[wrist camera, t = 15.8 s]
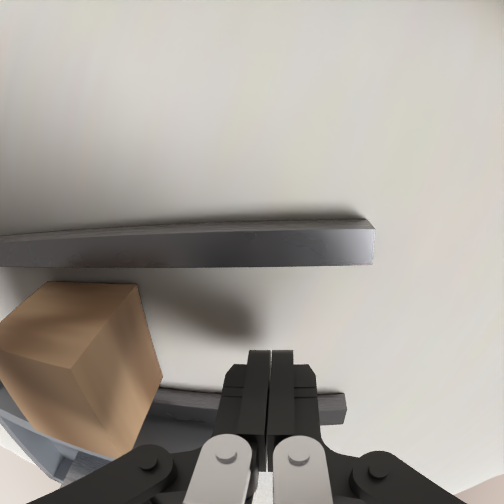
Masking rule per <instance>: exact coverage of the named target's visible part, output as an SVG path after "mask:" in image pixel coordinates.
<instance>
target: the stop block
mask: <svg viewBox="0 0 504 504" xmlns="http://www.w3.org/2000/svg"><path fill="white" fill-rule="evenodd" d="M110 462H112V461H110V460H106V459H103V458H100V457H97V456H94V455H90V454H87V453H85V452H82V451H78V453H77V455H76V457H75V459H74V461H73V463H72V465H71V467H70V469H69V471H68V473H67V475H66V477H65V479H64V481H63V483H62V485H61V487H60V488H62V487H64V486H66V485H68V484H70V483H72V482H74V481H76V480H78V479H80V478H82V477H84V476H86V475H88V474H90V473H92V472H94V471H95V470H97V469H99V468H101V467H103V466H105V465H106V464H108V463H110Z"/></svg>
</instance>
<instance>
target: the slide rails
mask: <svg viewBox="0 0 504 504" xmlns="http://www.w3.org/2000/svg"><path fill="white" fill-rule="evenodd" d="M374 239H375V228H374V227H373V226H372V225H371V223H370V222H369V221H368V220H283V221H244V222H214V223H189V224H167V225H147V226H129V227H112V228H96V229H81V230H68V231H54V232H42V233H30V234H19V235H8V236H0V266H9V267H82V268H212V267H293V266H343V265H372V261H373V250H374ZM220 398H221V394H215V393H202V392H191V391H181V390H172V389H163V388H158V389H157V392H156V394H155V396H154V399H153V401H152V403H151V406H150V408H149V410H148V413H147V415H152V416H159V417H165V418H172V419H179V420H187V421H196V422H205V423H215V421H216V416H217V411H218V407H219V402H220ZM317 399H318V408H319V420H320V425H337V424H343V423H344V419H345V415H346V411H347V407H346V401H345V394H331V395H317Z"/></svg>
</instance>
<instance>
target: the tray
mask: <svg viewBox="0 0 504 504" xmlns="http://www.w3.org/2000/svg"><path fill="white" fill-rule="evenodd" d="M0 424H1V425H2V426H3V427H4V429H5V430H6V431H7V432H8V433H9V435H10V436H11V437H12V438H13V439H14V441H15V442H16V443H17V444H18V445H19V446H20V447H21V449H22V450H23V451H24V452H25V453H26V454H27V455H28V456H29V457H30V458H31V459H32V460H33V462H34V463H35V464H36V465H37V466H38V467H39V468H40V469H41V470H42V471H43V472H44V473H45V474H46V475H47V476H48V477H49V478H51V479H53V480H55V481H57V482H59V483H61V484H62V483H63V481H64V479H65V477H66V475H67V473H68V471H69V469H70V467H71V465H72V463H73V461H74V459H75V457H76V455H77V453H78V451H82V452H85V453H87V454H90V455H94V456H97V457H100V458H103V459H106V460H110V461H114V460H115V458H111V457H108V456H104V455H101V454H98V453H95V452H92V451H88V450H85V449H83V448H80V447H77V446H74V445H71V444H69V443H66V442H63V441H61V440H58V439H56V438H53V437H51V436H48V435H46V434H43V433H41V432H39V431H37V430H35V429H34V428H33V426H32V425H31V424H30V423H29V421H28V420H27V419H26V417H25V416H24V414H23V413H22V412H21V410H20V409H19V407H18V406H17V405H16V403H15V402H14V400H13V399H12V397H11V396H10V394H9V393H8V391H7V390H6V388H5V386H4V385H3V383H2V382H1V380H0ZM214 425H215V423H205V422H196V421H187V420H179V419H172V418H165V417H159V416H152V415H146V417H145V420H144V422H143V424H142V427H141V429H140V432H139V434H138V436H137V439H136V441H135V443H134V446H133V448H132V450H133V449H134V448H136V447H138V446H141V445H146V444H153V445H158V446H161V447H163V448H164V449H166V450H167V451H168V452H169V453H179V452H186V451H192V450H195V449H198V448H200V447H201V446H203V445H204V444H205V443H206V442H207V441H208V440H209V439H210V438H211V436H212V433H213V430H214Z"/></svg>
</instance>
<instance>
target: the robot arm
mask: <svg viewBox="0 0 504 504" xmlns="http://www.w3.org/2000/svg"><path fill="white" fill-rule="evenodd" d="M316 387H317V386H316V376H315V373H314V372H313V371H312V369H311V368H310V366H309V365H308V364H304V365H293V350H272V361H271V351H270V350H249V355H248V362H247V365H245V364H234V365H233V366H232V367H231V368H230V370H229V371H228V372H227V373H226V375H225V380H224V384H223V389H222V393H221V398H220V402H219V407H218V411H217V416H216V421H215V425H214V430H213V433H212V436H211V438H210V439H209V440H208V441H207V442H206V443H205V444H204V445H203V446H201V447H200V448H198V449H195V450H192V451H186V452H179V453H169V452H168V451H167V450H166V449H164V448H163V447H161V446H158V445H153V444H146V445H141V446H138V447H136V448H134V449H133V450H131V451H129V452H128V453H126V454H124V455H122V456H121V457H119V458H117V459H115V460H114V461H112V462H110V463H108V464H106V465H105V466H103V467H101V468H99V469H97V470H95V471H94V472H92V473H90V474H88V475H86V476H84V477H82V478H80V479H78V480H76V481H74V482H72V483H70V484H68V485H66V486H64V487H62V488H60V489H58V490H56V491H54V492H52V493H50V494H47V495H45V496H43V497H41V498H38V499H36V500H34V501H32V502H29V503H27V504H254V500H255V495H256V489H257V486H258V475H259V472H266V463H267V456H268V472H273V504H466V503H465V502H463V501H461V500H460V499H458V498H457V497H455V496H454V495H452V494H450V493H449V492H447V491H446V490H444V489H443V488H441V487H440V486H438V485H437V484H435V483H434V482H432V481H431V480H429V479H428V478H426V477H425V476H423V475H422V474H420V473H419V472H417V471H416V470H414V469H413V468H412V467H410V466H409V465H407V464H406V463H404V462H403V461H402V460H400V459H399V458H397V457H396V456H395V455H393V454H391V453H389V452H385V451H373V452H369V453H366V454H364V455H363V456H361V457H360V458H358V457H352V456H347V455H342V454H338V453H336V452H334V451H332V450H330V449H329V448H328V447H327V446H326V445H325V444H324V442H323V441H322V438H321V433H320V420H319V408H318V399H317V389H316Z"/></svg>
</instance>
